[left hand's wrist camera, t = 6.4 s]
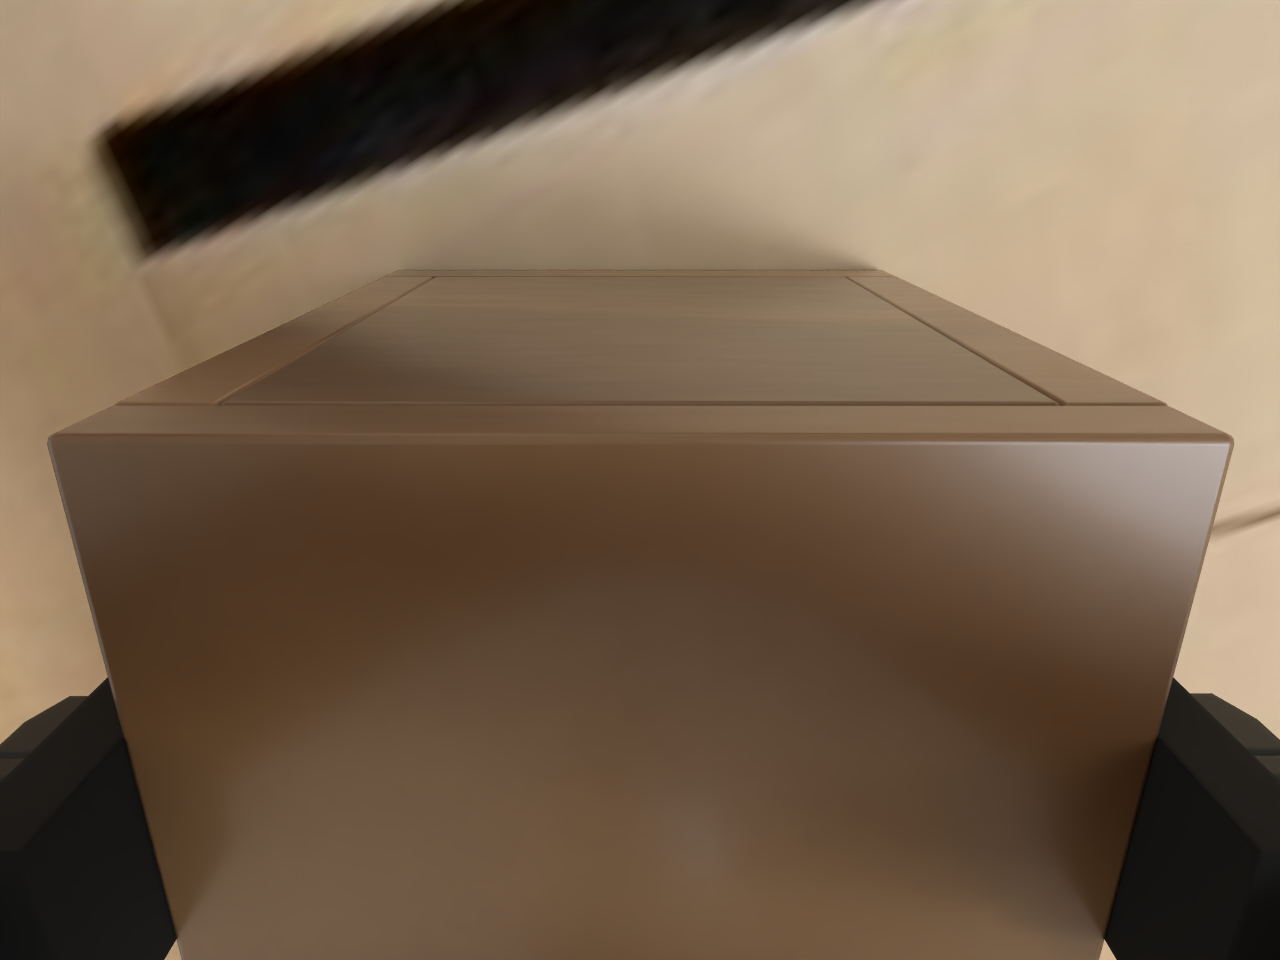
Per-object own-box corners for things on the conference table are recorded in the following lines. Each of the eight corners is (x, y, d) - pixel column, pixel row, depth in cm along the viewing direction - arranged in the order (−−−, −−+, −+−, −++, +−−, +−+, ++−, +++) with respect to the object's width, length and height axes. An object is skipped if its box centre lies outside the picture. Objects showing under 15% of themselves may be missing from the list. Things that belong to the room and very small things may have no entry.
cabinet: (822, 884, 24) (968, 1466, 13) (457, 883, 24) (311, 1466, 13) (884, 270, 18) (1242, 436, 7) (396, 269, 18) (40, 435, 7)
